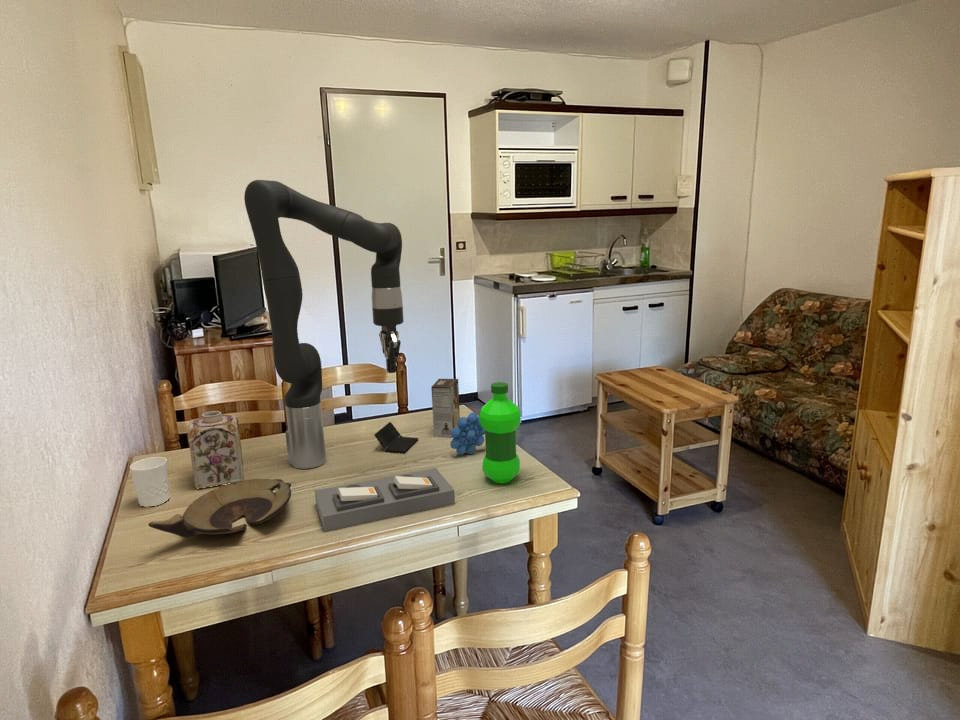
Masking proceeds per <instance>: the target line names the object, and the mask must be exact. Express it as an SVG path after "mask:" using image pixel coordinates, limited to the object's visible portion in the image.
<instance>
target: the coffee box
mask: <svg viewBox="0 0 960 720" xmlns="http://www.w3.org/2000/svg"><path fill="white" fill-rule="evenodd" d="M431 405H432V424H433V427H432V428H433V437H436V436H440V437H441V438H442V437H443V438H452V436H451V431H452V429H453V428H455V427H458V424H457V423H458V420H459V419H460V418H461V415H460V413H461V411H460V392H459V378H438V379H437V380H436V381H435V383H434V384H433V385H431Z"/></svg>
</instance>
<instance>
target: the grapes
mask: <svg viewBox="0 0 960 720" xmlns="http://www.w3.org/2000/svg"><path fill="white" fill-rule="evenodd" d="M457 424H458V427H455V428H453V429H452V431H451V436H452V437H451V438H452V439H451V441H450V448H451V449H453V450H455V451H456V453H457V455H458V456H463V455H464V454H465V453H466V454H468V455H471V454H474V452H475V451H476V449H477V447H480V446H482V445H483V444H484V442H485V430H484V429H483V428H482V427H481V424H480V415H477V413H476V412H471V413H469V414H468V415H467V417H466V416H460V419H459V420H458V423H457Z"/></svg>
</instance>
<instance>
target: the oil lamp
mask: <svg viewBox="0 0 960 720" xmlns="http://www.w3.org/2000/svg"><path fill="white" fill-rule="evenodd" d="M291 487H292V483H290V482H285V481H284V480H282V479H281V478H276V479H275V478H274V479H272V478H270V479H269V478H254V479H253V478H252V479H244V481H239V482H235V483H230V484H227V485H223V486H218V488H214V489H212V490H210V491H208V492H206V493H204V494H203V495H201V496H200V497H197V499H195V500H193V502H192V503H190V504H189V505H188V507H187V508H186V509H185V511H184V512H183V514H179V513H177V514H174V515H173V516H172V517H170V518H168V519H166V520H159V521H157V520H156V521H154V520H152V521H150V522H149V523H147V524H148V527H149V528H153V529H156V530H157V531H162V532H166V533H169V534H173V535H176V536H179V537H182V538H193V537H195V536H196V535H203V534H204V535H205V534H207V535H223V534H230V533H236V532H240V531H243V530H245V529H246V528H247V526H248V525H247V524H249V525H250V526H255V525H260V524H262V523H264V522H266V521H269V520H271V518H274V516H276V515H277V514H279V512H281V511H282V510H283V509H284V508H285V507H286V506H287V505H288V504H289V502H290V500H291V498H292V490H291ZM276 489H277V490H276ZM274 490H276V491H275V492H274ZM242 517H245V520H246V523H243V524H240V525H237V526H233V523H234V522H236V521H238V520H239V519H241V518H242ZM232 522H233V523H232Z"/></svg>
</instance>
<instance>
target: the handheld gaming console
mask: <svg viewBox="0 0 960 720" xmlns="http://www.w3.org/2000/svg"><path fill="white" fill-rule="evenodd" d="M373 436H374V437H375V438H376V440H377V441H378V443H379V444H380V445H381V446H382V448H383V450H384V451H385V453H388V452H390V453H389V454H399V453H400V454H401V455H405V454H406V453H407V452H409V450H411V448H412V447H413V446H415V444H417V442H419V437H410V436H403V435H402V434H400V432H399V431H398V430H397V429H396V427H395V425H394V424H393V423H392V422H391V421H389V422H388V423H386V424H385V425H384V426H383V427H382V428H380V429H379V430H378V431H377V432H376V433H374V434H373Z"/></svg>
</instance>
